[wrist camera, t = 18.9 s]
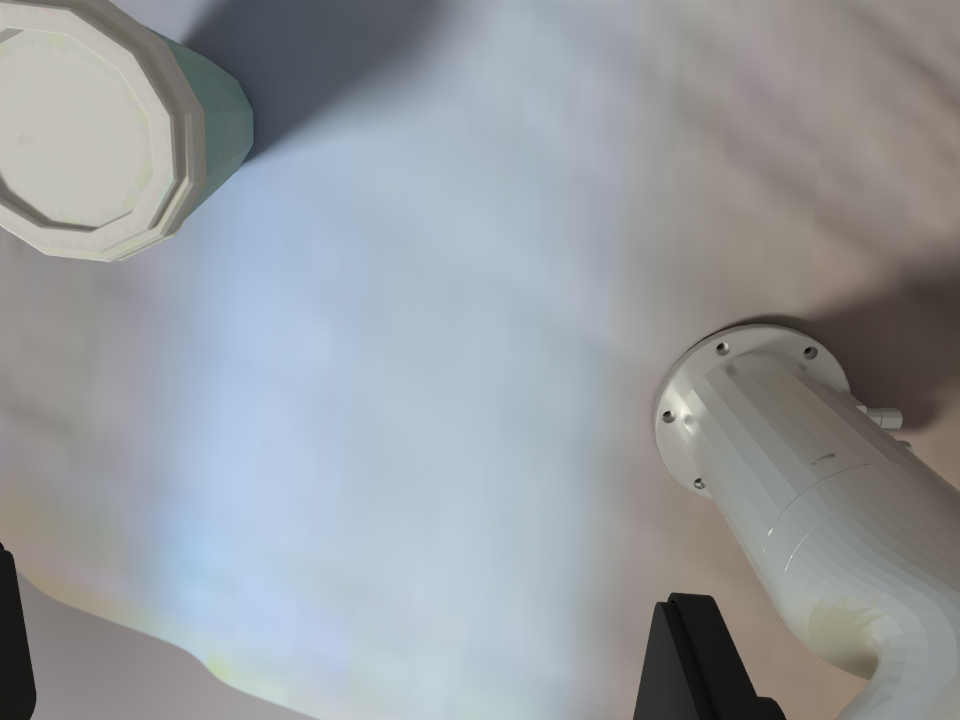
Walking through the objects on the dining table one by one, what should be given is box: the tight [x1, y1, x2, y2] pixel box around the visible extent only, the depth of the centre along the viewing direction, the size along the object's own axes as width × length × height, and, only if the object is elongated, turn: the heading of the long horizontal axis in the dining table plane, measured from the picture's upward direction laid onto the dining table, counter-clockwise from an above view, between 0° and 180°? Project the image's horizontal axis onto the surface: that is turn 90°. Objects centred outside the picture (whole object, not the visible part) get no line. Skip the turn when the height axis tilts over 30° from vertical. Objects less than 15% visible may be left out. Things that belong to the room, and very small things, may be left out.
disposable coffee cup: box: [0, 0, 254, 262], centre depth 34 cm, size 11×11×15 cm
